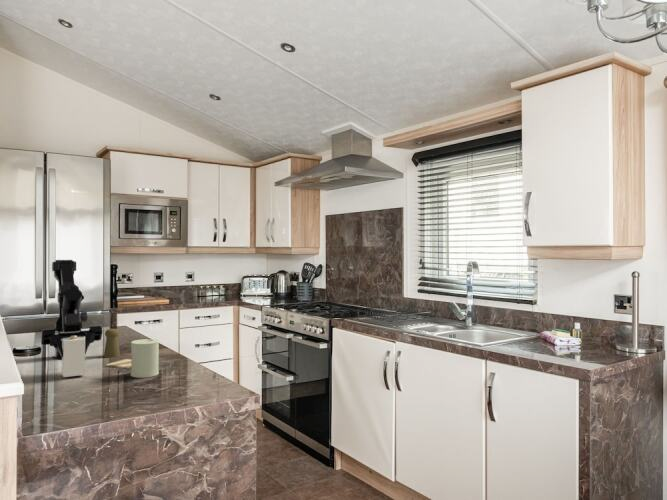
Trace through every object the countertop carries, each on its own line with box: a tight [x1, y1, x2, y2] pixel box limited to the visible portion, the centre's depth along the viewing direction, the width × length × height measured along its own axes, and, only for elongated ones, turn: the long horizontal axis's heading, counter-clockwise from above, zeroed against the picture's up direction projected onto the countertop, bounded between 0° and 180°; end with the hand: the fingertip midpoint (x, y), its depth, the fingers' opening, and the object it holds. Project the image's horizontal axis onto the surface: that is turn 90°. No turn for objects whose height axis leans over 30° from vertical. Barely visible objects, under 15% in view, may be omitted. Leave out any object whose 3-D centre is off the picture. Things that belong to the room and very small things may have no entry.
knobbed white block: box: [61, 335, 86, 378], centre depth 174 cm, size 6×6×13 cm
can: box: [130, 338, 160, 379], centre depth 178 cm, size 9×9×12 cm
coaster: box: [105, 358, 131, 369], centre depth 192 cm, size 10×10×1 cm
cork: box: [103, 328, 121, 359], centre depth 206 cm, size 6×6×11 cm
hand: (73, 355), depth 173 cm, fingers closed on knobbed white block, 6 cm apart
